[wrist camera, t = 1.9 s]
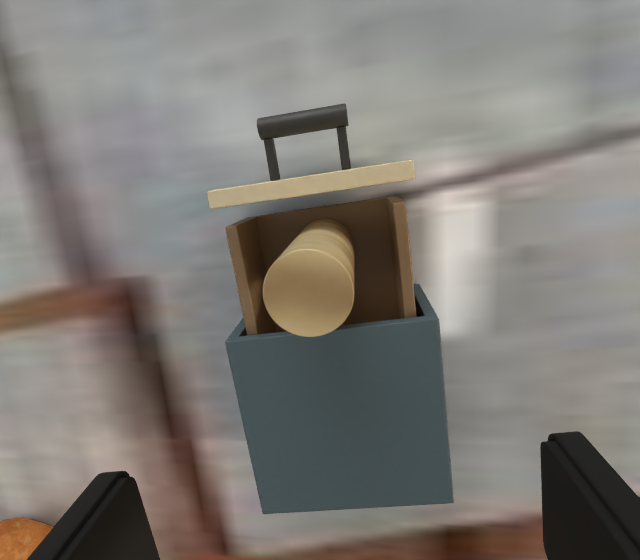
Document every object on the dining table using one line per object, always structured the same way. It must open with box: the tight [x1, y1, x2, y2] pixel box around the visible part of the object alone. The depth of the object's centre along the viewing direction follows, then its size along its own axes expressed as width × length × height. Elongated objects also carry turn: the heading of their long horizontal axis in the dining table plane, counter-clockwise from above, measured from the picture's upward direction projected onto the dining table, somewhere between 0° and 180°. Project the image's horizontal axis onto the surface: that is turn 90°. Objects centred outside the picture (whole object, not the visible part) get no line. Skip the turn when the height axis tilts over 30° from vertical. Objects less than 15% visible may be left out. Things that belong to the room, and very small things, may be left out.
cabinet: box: [225, 284, 454, 514], centre depth 34 cm, size 15×15×9 cm
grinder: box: [263, 219, 354, 337], centre depth 27 cm, size 5×5×13 cm
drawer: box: [207, 104, 416, 336], centre depth 30 cm, size 18×13×7 cm
